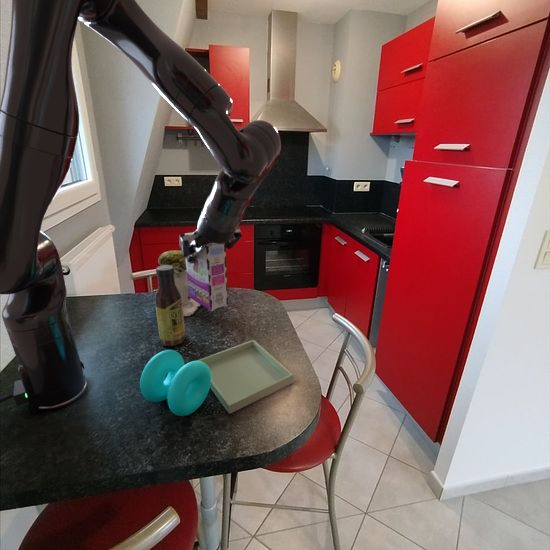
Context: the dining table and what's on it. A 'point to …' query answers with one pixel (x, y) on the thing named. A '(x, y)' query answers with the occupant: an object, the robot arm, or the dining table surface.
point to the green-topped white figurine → (180, 278)
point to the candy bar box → (208, 277)
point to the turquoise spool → (176, 382)
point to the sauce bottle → (169, 308)
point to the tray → (245, 375)
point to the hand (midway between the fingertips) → (201, 257)
